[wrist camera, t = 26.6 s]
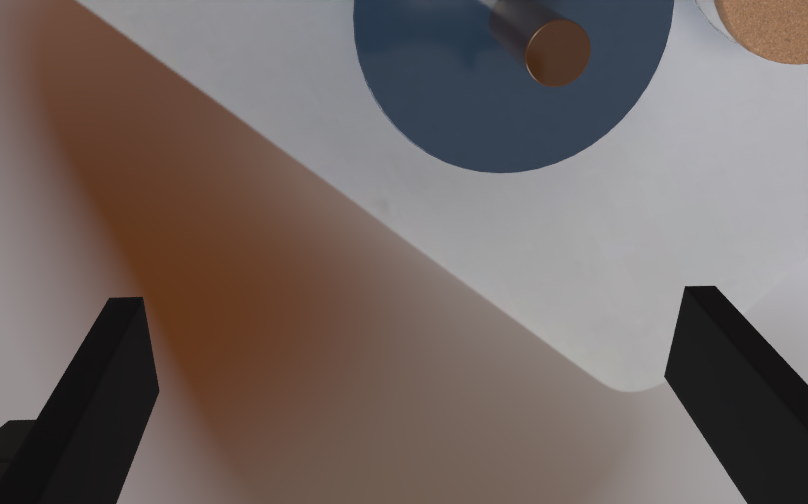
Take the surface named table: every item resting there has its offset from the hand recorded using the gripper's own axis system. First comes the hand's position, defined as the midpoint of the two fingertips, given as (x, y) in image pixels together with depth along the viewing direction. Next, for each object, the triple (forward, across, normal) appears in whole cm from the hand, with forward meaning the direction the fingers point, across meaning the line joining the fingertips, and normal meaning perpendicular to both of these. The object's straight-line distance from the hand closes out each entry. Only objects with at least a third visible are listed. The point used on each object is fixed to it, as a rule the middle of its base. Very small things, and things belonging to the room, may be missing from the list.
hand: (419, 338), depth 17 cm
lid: (+19, +6, +5) cm, 20 cm away
